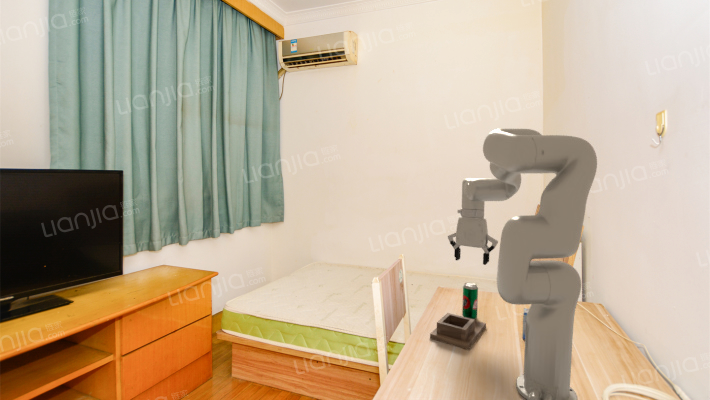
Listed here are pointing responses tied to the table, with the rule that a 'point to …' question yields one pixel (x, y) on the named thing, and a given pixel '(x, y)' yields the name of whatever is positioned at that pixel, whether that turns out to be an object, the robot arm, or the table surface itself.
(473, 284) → the soda can
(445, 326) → the can stand
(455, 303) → the table surface
